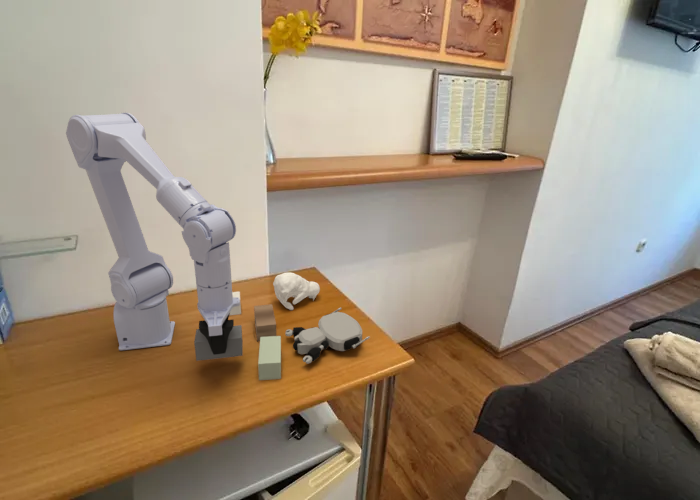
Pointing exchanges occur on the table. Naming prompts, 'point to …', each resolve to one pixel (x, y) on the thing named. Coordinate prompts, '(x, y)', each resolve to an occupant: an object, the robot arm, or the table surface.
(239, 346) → the charcoal brick
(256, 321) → the walnut brick
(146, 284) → the robot arm
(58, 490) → the table surface
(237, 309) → the off-white brick
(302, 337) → the robot toy
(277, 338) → the sage brick
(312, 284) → the white animal figurine
